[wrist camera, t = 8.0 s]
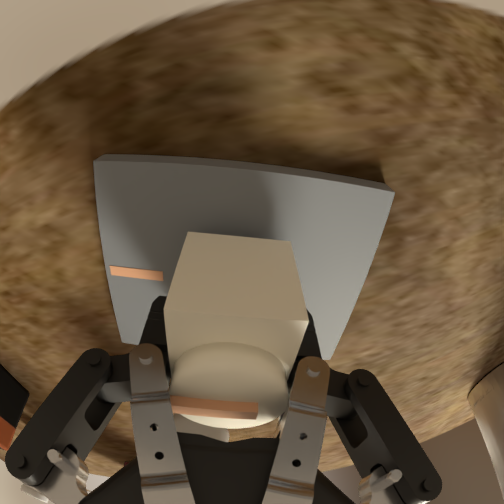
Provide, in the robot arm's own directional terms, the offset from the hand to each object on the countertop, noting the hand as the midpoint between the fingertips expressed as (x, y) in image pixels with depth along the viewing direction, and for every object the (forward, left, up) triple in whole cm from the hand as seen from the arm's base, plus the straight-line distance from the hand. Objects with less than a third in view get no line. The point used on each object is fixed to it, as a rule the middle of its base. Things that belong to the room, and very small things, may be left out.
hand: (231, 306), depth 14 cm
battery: (+27, +20, -3) cm, 34 cm away
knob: (0, 0, -1) cm, 1 cm away
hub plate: (0, 0, -3) cm, 3 cm away
